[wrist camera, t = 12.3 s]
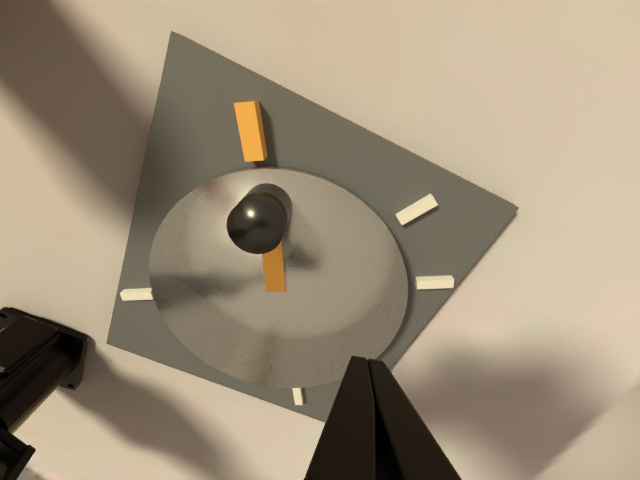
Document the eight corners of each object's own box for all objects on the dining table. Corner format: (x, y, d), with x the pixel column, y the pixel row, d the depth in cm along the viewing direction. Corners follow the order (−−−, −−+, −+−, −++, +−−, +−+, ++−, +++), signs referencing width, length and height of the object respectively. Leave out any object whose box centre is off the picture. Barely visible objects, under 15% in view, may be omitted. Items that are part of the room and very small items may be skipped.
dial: (393, 380, 23) (403, 433, 20) (185, 373, 24) (158, 422, 21) (419, 164, 16) (441, 185, 13) (127, 166, 17) (71, 185, 14)
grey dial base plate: (341, 419, 27) (341, 440, 26) (113, 336, 25) (97, 353, 23) (512, 203, 18) (528, 214, 17) (178, 33, 16) (160, 27, 14)
